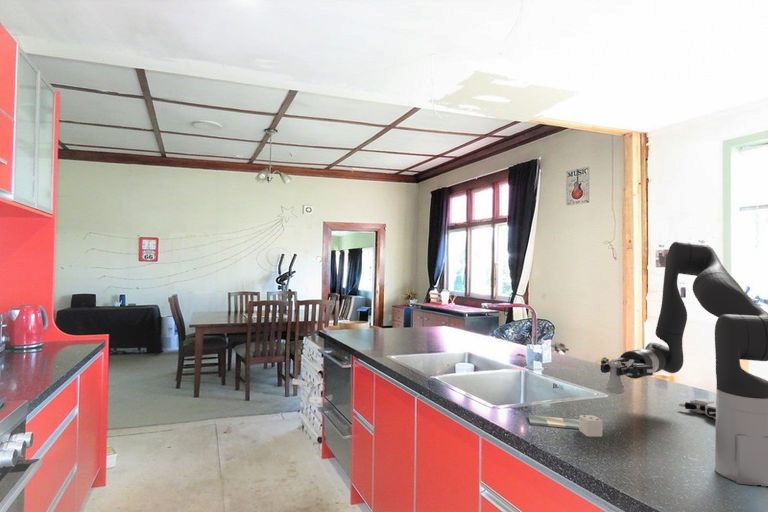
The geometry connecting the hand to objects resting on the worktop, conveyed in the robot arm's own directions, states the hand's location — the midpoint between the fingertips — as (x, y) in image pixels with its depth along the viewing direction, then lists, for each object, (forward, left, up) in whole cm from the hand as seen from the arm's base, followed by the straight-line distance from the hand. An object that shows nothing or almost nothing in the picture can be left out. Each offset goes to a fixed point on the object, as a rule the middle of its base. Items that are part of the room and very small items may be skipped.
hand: (610, 370), depth 121 cm
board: (+2, +11, -16) cm, 19 cm away
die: (-3, +5, -16) cm, 17 cm away
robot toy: (+22, -34, -16) cm, 44 cm away
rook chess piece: (+2, -2, -6) cm, 7 cm away
